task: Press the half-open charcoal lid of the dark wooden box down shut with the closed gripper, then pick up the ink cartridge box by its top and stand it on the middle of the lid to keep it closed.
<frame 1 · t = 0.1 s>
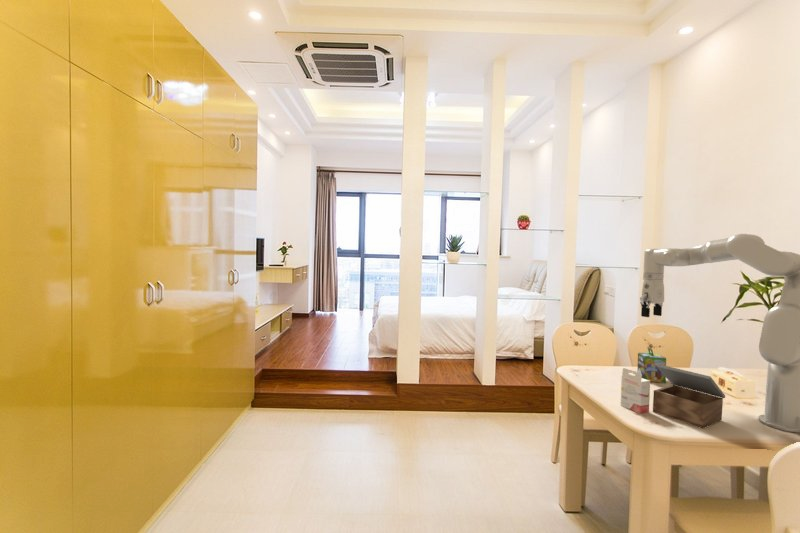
hand: (651, 316, 178), 31 cm above the table, tool pointing down, fingers open, 9 cm apart
box: (686, 416, 146), on the table
ink cartridge box: (634, 409, 152), on the table
chalk box: (650, 379, 189), on the table
lid: (689, 380, 146), point 13 cm above the table, hinge at 35.0°
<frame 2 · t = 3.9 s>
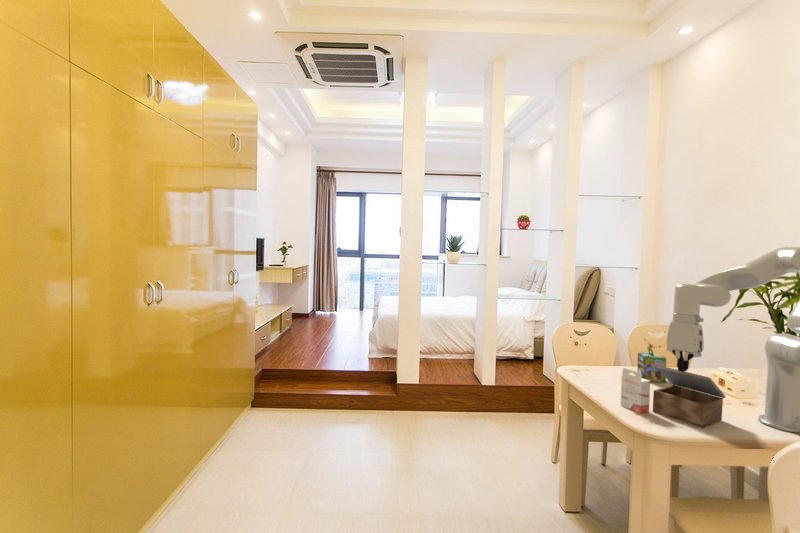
hand: (682, 370, 143), 17 cm above the table, tool pointing down, fingers closed
lid: (689, 381, 146), point 13 cm above the table, hinge at 33.2°, touching gripper
everything else where it was.
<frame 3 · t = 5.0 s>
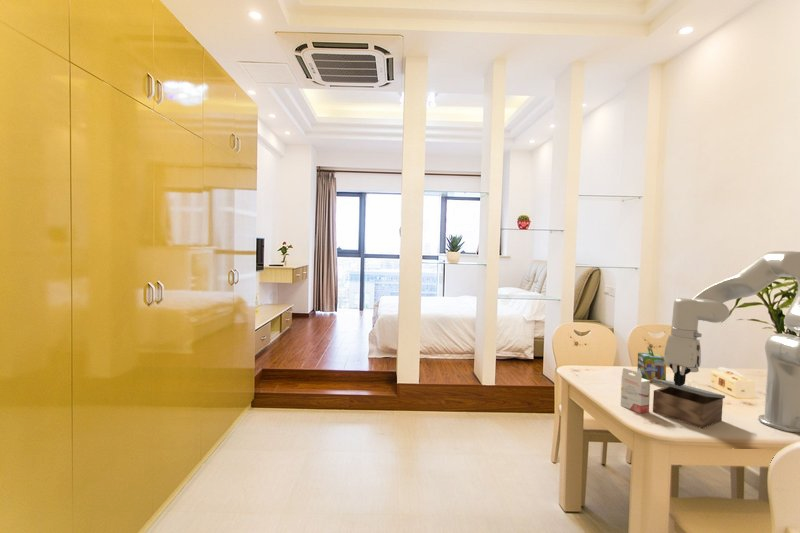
hand: (679, 384, 144), 12 cm above the table, tool pointing down, fingers closed
lid: (687, 388, 146), point 10 cm above the table, hinge at 12.2°, touching gripper
everything else where it was.
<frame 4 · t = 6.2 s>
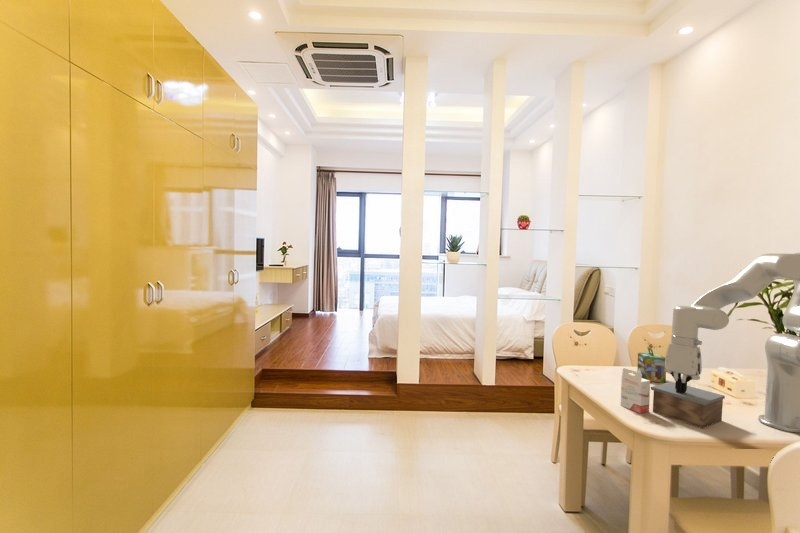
hand: (680, 392, 144), 9 cm above the table, tool pointing down, fingers closed
lid: (686, 392, 146), point 9 cm above the table, hinge at 0.9°, touching gripper
everything else where it was.
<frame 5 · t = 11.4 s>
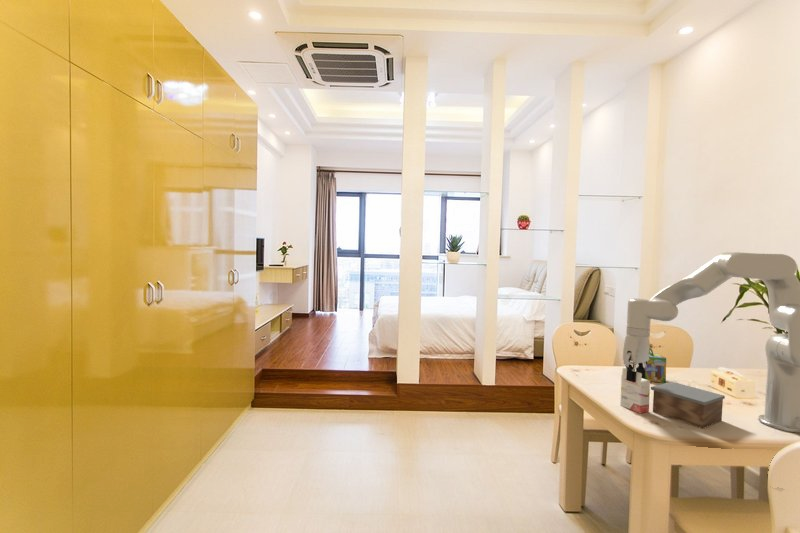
hand: (635, 379, 152), 11 cm above the table, tool pointing down, fingers closed on ink cartridge box, 5 cm apart
ink cartridge box: (634, 409, 152), on the table, touching gripper
lid: (686, 392, 146), point 9 cm above the table, hinge at 0.8°
everything else where it was.
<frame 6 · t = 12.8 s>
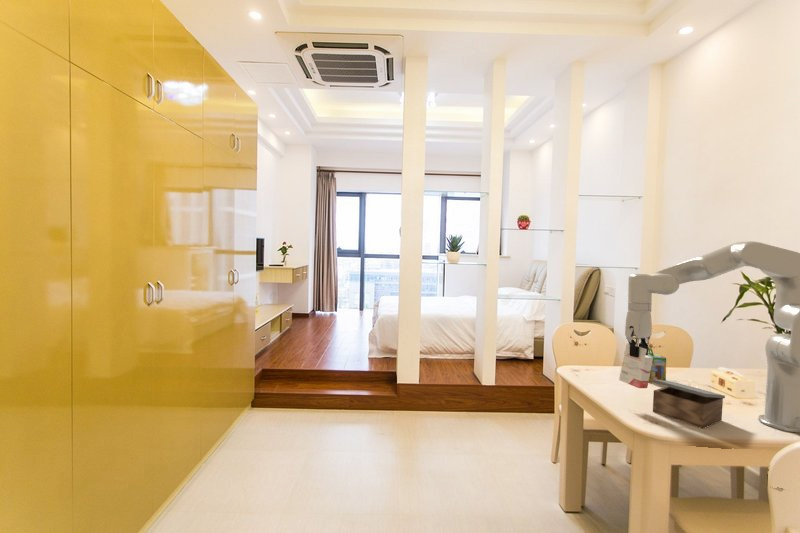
hand: (638, 355, 151), 20 cm above the table, tool pointing down, fingers closed on ink cartridge box, 5 cm apart
ink cartridge box: (632, 384, 152), point 9 cm above the table, touching gripper
lid: (687, 388, 146), point 10 cm above the table, hinge at 11.6°
everything else where it was.
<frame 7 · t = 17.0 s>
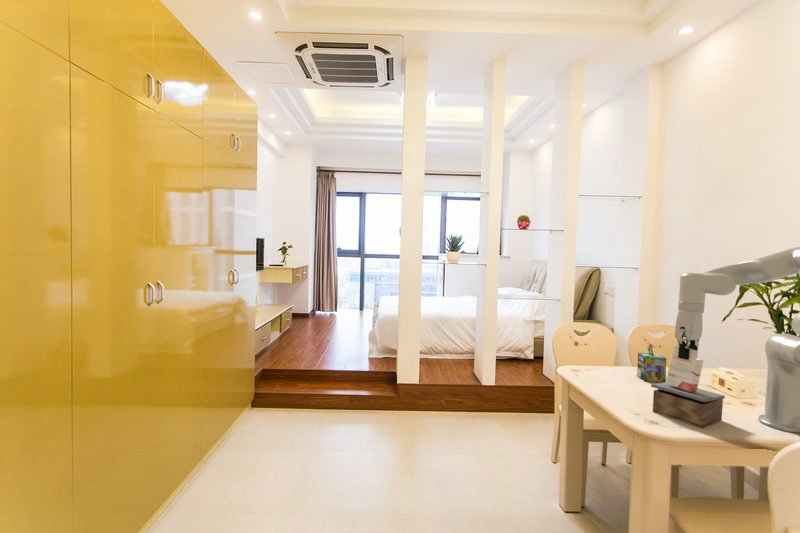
hand: (687, 357, 145), 21 cm above the table, tool pointing down, fingers closed on ink cartridge box, 5 cm apart
ink cartridge box: (680, 387, 146), point 10 cm above the table, touching gripper, lid
lid: (687, 391, 146), point 9 cm above the table, hinge at 4.9°, touching ink cartridge box
everything else where it was.
when the fingers open (21 cm above the table, at t = 17.0 s): ink cartridge box drops 1 cm, resting on lid.
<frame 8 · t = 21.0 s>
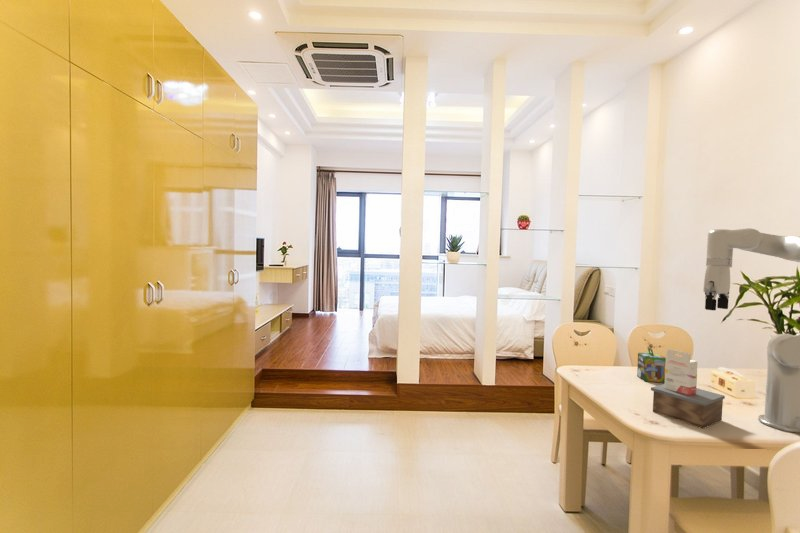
hand: (716, 309, 150), 38 cm above the table, tool pointing down, fingers open, 9 cm apart
ink cartridge box: (679, 391, 146), point 9 cm above the table, touching lid
lid: (686, 392, 146), point 9 cm above the table, hinge at -0.1°, touching ink cartridge box
everything else where it was.
at the end: lid at +0° (first picture: +35°); ink cartridge box inside the target area on the box (2.6 cm from its centre), point 8.9 cm above the box's base; ink cartridge box tilted 0° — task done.
